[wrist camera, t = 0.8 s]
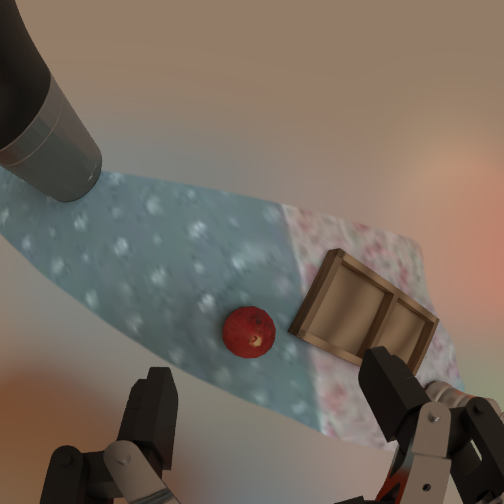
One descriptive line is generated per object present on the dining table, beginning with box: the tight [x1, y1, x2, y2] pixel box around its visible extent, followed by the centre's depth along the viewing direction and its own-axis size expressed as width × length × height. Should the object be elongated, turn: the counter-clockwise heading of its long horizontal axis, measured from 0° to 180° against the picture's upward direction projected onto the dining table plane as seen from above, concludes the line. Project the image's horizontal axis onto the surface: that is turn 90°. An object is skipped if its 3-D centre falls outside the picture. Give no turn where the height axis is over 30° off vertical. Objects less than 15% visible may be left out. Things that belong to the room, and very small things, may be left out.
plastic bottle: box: [425, 381, 504, 423], centre depth 30 cm, size 6×7×20 cm
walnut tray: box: [288, 248, 440, 377], centre depth 36 cm, size 23×12×3 cm, turn 61°
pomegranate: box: [223, 306, 276, 358], centre depth 30 cm, size 6×6×8 cm
